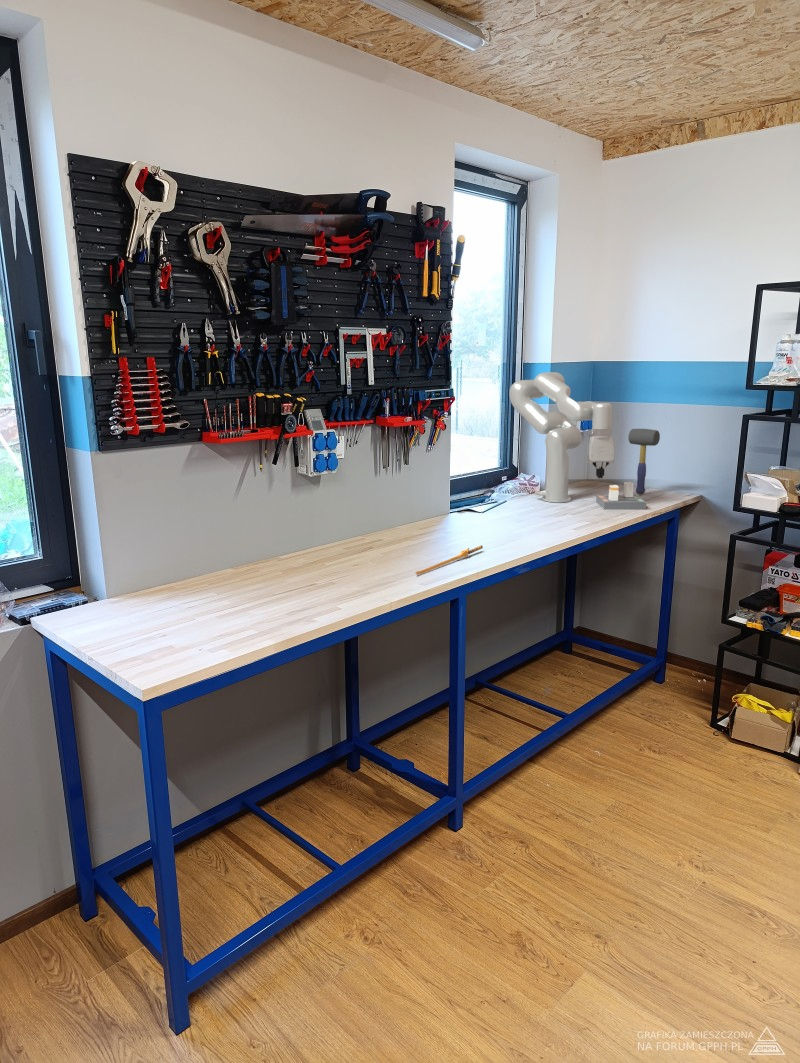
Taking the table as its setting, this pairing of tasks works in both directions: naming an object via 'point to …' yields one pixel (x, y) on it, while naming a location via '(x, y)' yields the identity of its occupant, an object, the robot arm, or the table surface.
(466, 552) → the katana
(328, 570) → the table surface
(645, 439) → the rubber mallet
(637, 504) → the breaker panel
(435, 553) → the table surface
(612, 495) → the block
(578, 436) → the robot arm
